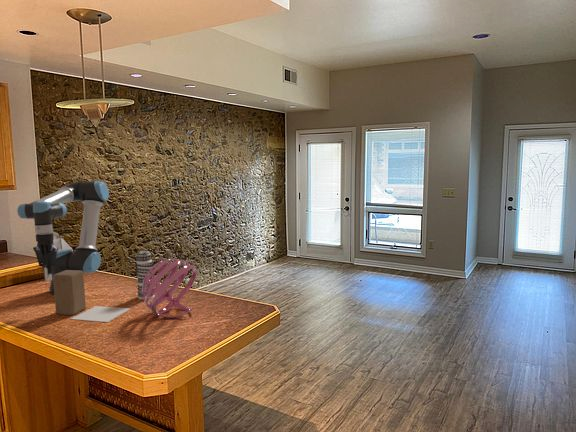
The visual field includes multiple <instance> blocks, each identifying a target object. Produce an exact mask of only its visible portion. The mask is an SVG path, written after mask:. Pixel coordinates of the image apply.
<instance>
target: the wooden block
mask: <svg viewBox="0 0 576 432" xmlns="http://www.w3.org/2000/svg"><path fill="white" fill-rule="evenodd" d="M84 280H85V279H84V273H83V271H81V270H65V271H62V272H60V273H57V274H54V275H53V284H54V294H53V295H54V304H55V313H56V315H64V316H76V314H77V315H78V313H79V314H80V313H81V312H82V311H85V310H86V309H87V304H86V303H87V302H86V295H85V294H86V289H85V281H84Z"/></svg>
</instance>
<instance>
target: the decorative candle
mask: <svg viewBox="0 0 576 432" xmlns="http://www.w3.org/2000/svg"><path fill="white" fill-rule="evenodd" d="M135 256H136V261H135V262H134V264H135V265H134V266H135V267H134V268H135V272H136V278H137V286H136V287H137V297H138V298H137V299H139V300H144V297H143V294H142V286H143V280H144V277H145V275H146V274H147V272H148V271H149V270H150V268H151V267H152V266H154V261H153V260H152V253H151V252H150V251H149V250H140V251H137V253H136V254H135ZM153 269H154V268H153ZM153 269H152V270H151V272H152V271H153ZM151 272H150V273H151ZM150 273H149V274H150ZM149 274H148V275H149ZM152 278H153V276H152V277H151V278H150V280H151V279H152ZM149 286H150V285H149ZM149 286H146V291H147V289H148V288H149ZM154 297H155V294H154V295H153V296H150V297H149V298H148V300H149V299H154Z"/></svg>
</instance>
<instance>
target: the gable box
mask: <svg viewBox="0 0 576 432" xmlns="http://www.w3.org/2000/svg"><path fill="white" fill-rule="evenodd" d="M52 233H53V238H54V240H53V244H54V246H55V247H58V251H61V250H67V249H72V251H73V252H74V250H73V248H72V247H71V246H70V245H69V244H68V243H67V242H66V240H64V238H61V237H60V233H58V232H56V231H54V230H53V232H52Z"/></svg>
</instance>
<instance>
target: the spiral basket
mask: <svg viewBox="0 0 576 432" xmlns="http://www.w3.org/2000/svg"><path fill="white" fill-rule="evenodd" d="M171 261H172V262H171ZM169 262H171V263H170V264H168V263H169ZM182 263H183V266H182V267H181V268H180V269H179V265H180V264H182ZM152 269H153V270H152ZM151 270H152V272H151ZM190 270H192V275H191V276H190V278H189V280H188V282H187V283H186V285H185V287H184V288H183V289H182V291H180V293H179V294H178V295H177V296H176V297H173V294H174V292H176V290H177V289H178V288H179V287H180V286H181V284H182V283H183V282H184V279H185V278H186V276H187V274H188V272H189V271H190ZM157 271H158V273H157ZM150 272H151V273H150ZM168 272H169V273H168ZM149 273H150V274H149ZM155 273H157V274H156V275H155ZM167 273H168V274H167ZM148 274H149V275H148ZM166 274H167V275H166ZM165 275H166V277H165V278H164V279H163V280H162V281H161V282H160V280H161V279H162V278H163V277H164V276H165ZM197 275H198V270H197V268H196V267H195V265H192V264H189V262H188V261H187V260H185V259H177V258H173V257H172V258H167V259H165V260H160V261H158V262H157V263H155V264H153V266H152V267H151V268H150V270H149V271H148V272H147V274H146V275H145V277H144V280H143V286H142V294H143V297H144V299H143V300H144V303H145V305H146V307H148V309H149V310H150V311H151V312H152V313H153V314H155V315H156V316H158V317H161V318H163V319H164V318H165V319H176V318H180V317H183V316H185V315H186V314H188V313H190V312H192V311H194V310H195V308H194V307H191V308H189V307H187V306H184V305H183V304H182V303H181V300H182V299H183V298H184V297H185V295H186V294H187V293H188V291H189V290H190V289H191V287H193V284H194V282H195V281H196V279H197ZM151 277H152V279H151V280H150V278H151ZM173 283H174V284H173ZM172 284H173V285H172ZM149 285H150V286H149ZM171 285H172V286H171ZM146 286H149V288H148V289H147V291H146ZM170 286H171V287H170ZM153 295H154V297H153V298H152V299H153V300H152V301H151V302H149V299H148V298H149V297H150V296H153ZM165 301H168V304H167V305H166V306H164V307H162V308H161V309H159V310H157V306H158V305H159V306H160V305H161V304H162V303H163V302H165ZM174 307H175V308H178V309H180V310H181V311H184V312H183V313H181V314H178V315H164V314H165V313H166V312H168V311H170V310H171V309H172V308H174Z"/></svg>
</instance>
